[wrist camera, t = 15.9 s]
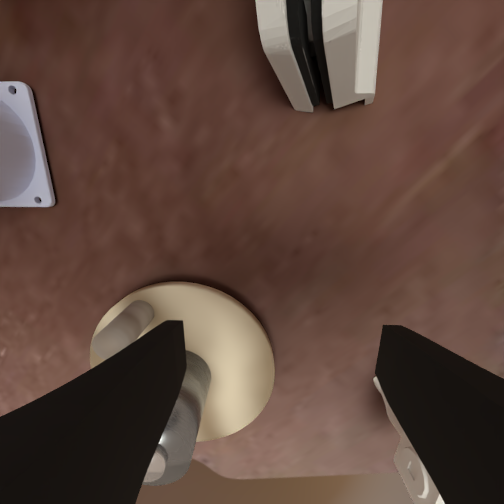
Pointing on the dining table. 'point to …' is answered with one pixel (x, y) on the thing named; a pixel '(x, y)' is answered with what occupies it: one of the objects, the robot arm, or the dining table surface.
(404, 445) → the toy robot
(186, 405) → the grey short cylinder
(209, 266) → the dining table surface
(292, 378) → the dining table surface
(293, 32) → the grey piece
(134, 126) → the dining table surface
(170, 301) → the turntable
